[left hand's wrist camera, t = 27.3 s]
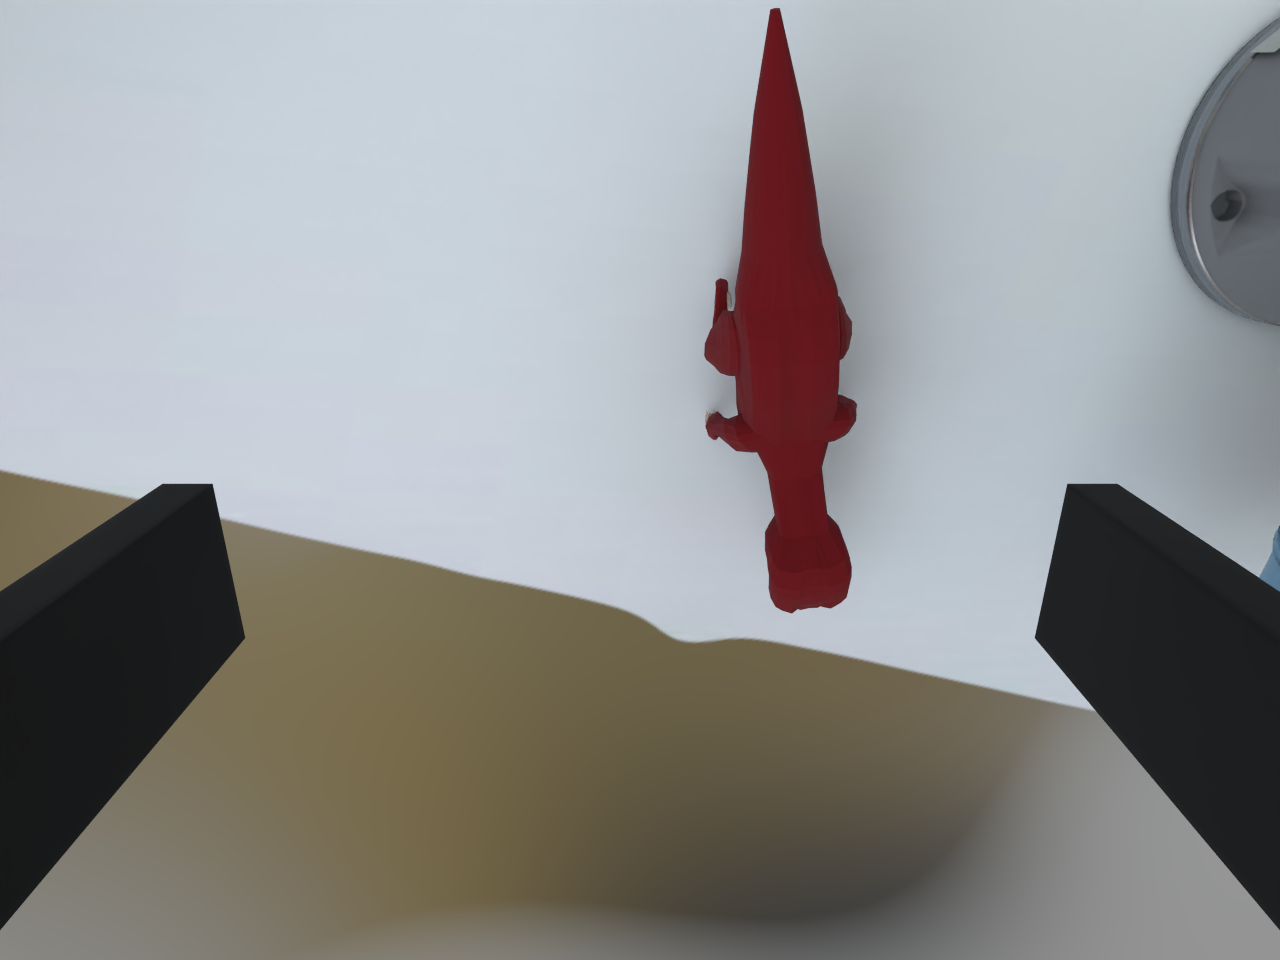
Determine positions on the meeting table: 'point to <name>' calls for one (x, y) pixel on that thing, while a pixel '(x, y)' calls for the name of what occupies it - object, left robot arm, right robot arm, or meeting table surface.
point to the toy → (786, 344)
